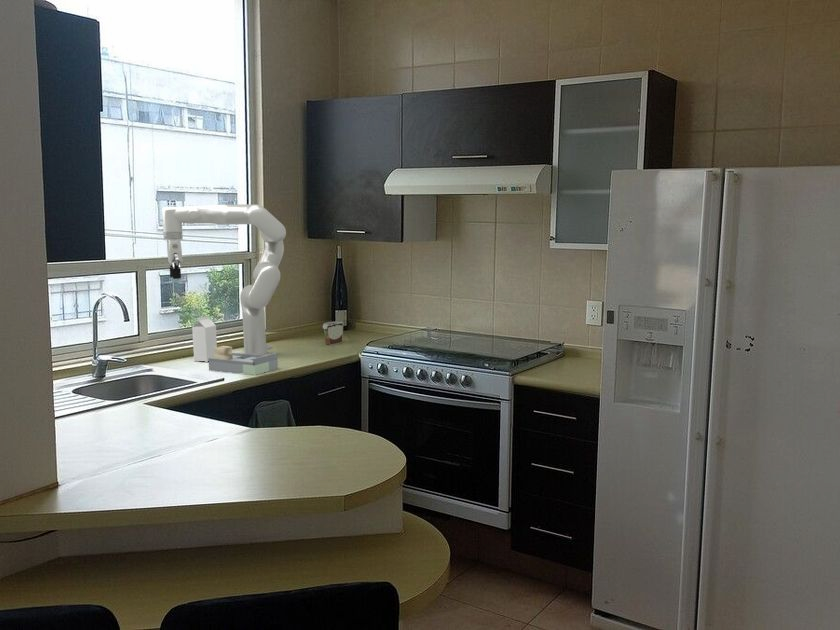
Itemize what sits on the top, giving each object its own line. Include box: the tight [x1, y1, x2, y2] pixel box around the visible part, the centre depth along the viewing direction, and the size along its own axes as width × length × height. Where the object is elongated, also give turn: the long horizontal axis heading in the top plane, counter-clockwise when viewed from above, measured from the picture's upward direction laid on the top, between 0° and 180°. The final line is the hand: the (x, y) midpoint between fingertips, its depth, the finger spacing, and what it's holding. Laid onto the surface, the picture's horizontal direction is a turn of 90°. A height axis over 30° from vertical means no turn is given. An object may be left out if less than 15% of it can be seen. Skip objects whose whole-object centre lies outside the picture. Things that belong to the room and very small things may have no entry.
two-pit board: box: [208, 352, 279, 376], centre depth 326 cm, size 14×24×6 cm, turn 61°
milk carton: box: [191, 315, 218, 363], centre depth 347 cm, size 7×7×19 cm
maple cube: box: [214, 345, 233, 360], centre depth 327 cm, size 5×5×5 cm
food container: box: [322, 321, 345, 346], centre depth 386 cm, size 12×6×10 cm, turn 144°
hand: (175, 277), depth 336 cm, fingers open, 9 cm apart
